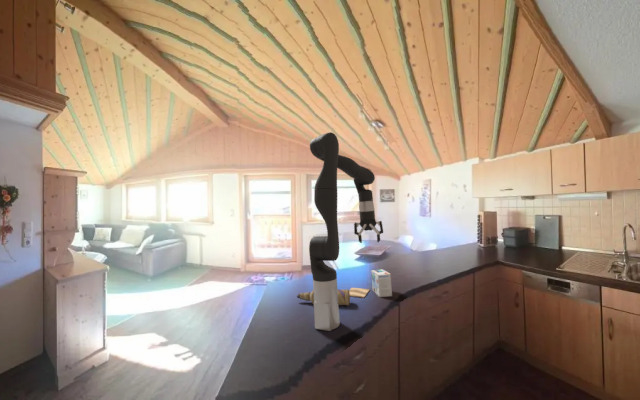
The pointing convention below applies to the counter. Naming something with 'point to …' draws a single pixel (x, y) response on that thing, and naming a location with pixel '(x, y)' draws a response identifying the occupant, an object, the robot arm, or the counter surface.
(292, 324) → the counter surface
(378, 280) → the light bulb box
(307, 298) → the decorative bottle
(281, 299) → the counter surface
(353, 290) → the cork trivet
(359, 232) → the robot arm
